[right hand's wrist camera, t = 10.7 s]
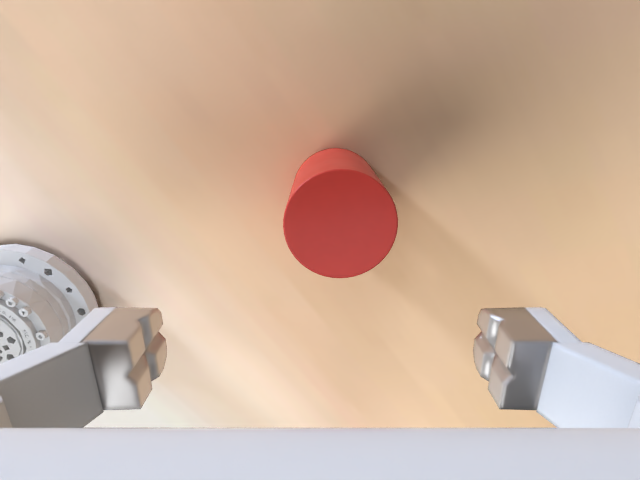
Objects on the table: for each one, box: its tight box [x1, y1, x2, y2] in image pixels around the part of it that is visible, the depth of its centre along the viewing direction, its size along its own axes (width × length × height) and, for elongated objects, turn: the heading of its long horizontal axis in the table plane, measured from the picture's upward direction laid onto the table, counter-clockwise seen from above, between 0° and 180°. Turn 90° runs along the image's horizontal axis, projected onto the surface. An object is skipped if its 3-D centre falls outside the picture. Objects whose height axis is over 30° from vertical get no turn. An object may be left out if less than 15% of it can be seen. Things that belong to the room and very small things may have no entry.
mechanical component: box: [0, 244, 98, 364], centre depth 27 cm, size 10×4×10 cm
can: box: [283, 148, 398, 278], centre depth 22 cm, size 5×5×8 cm
